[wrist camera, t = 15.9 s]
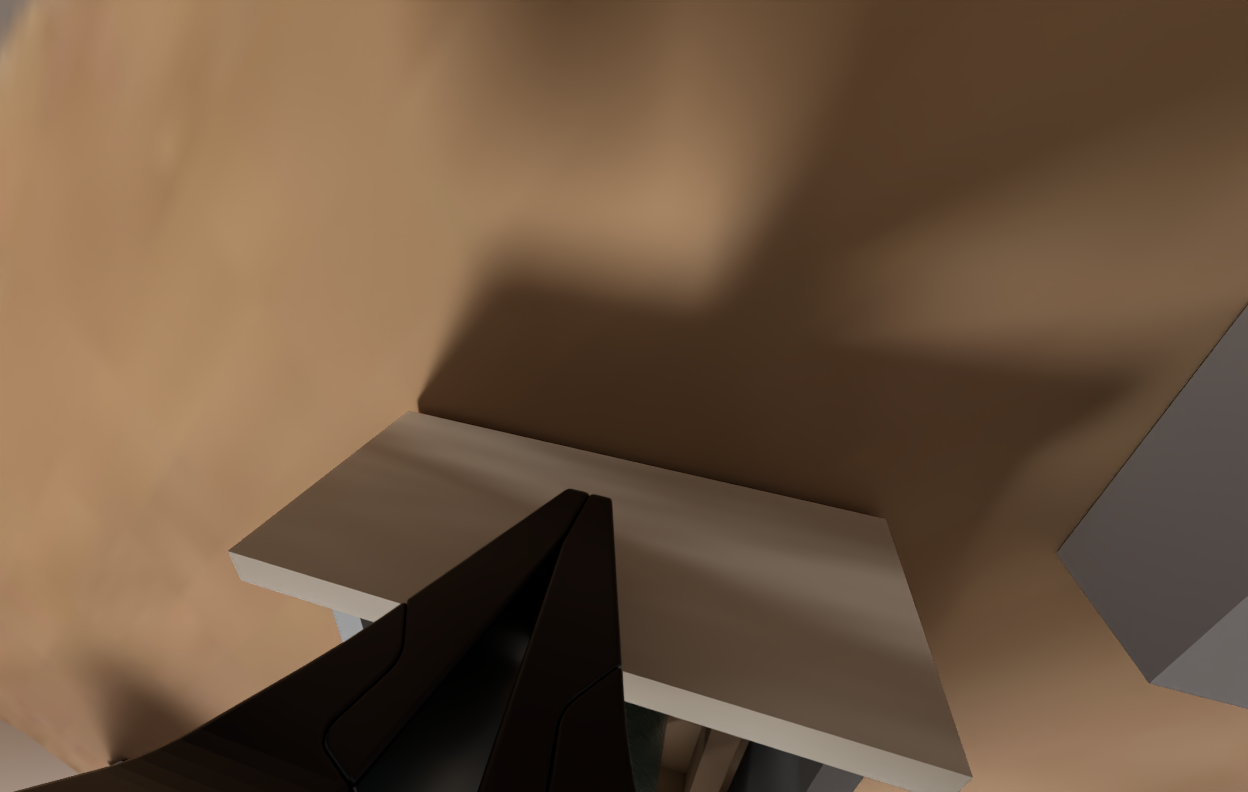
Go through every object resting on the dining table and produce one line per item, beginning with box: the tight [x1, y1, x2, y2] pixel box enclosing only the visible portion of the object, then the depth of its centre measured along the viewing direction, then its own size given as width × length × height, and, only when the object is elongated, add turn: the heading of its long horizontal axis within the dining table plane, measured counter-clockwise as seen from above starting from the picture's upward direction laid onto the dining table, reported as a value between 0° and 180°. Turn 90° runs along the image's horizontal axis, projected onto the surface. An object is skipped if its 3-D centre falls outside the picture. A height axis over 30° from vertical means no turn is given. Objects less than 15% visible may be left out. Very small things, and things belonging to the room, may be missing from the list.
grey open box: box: [332, 609, 864, 792], centre depth 14 cm, size 13×13×4 cm
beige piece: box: [228, 411, 973, 792], centre depth 13 cm, size 13×13×5 cm
